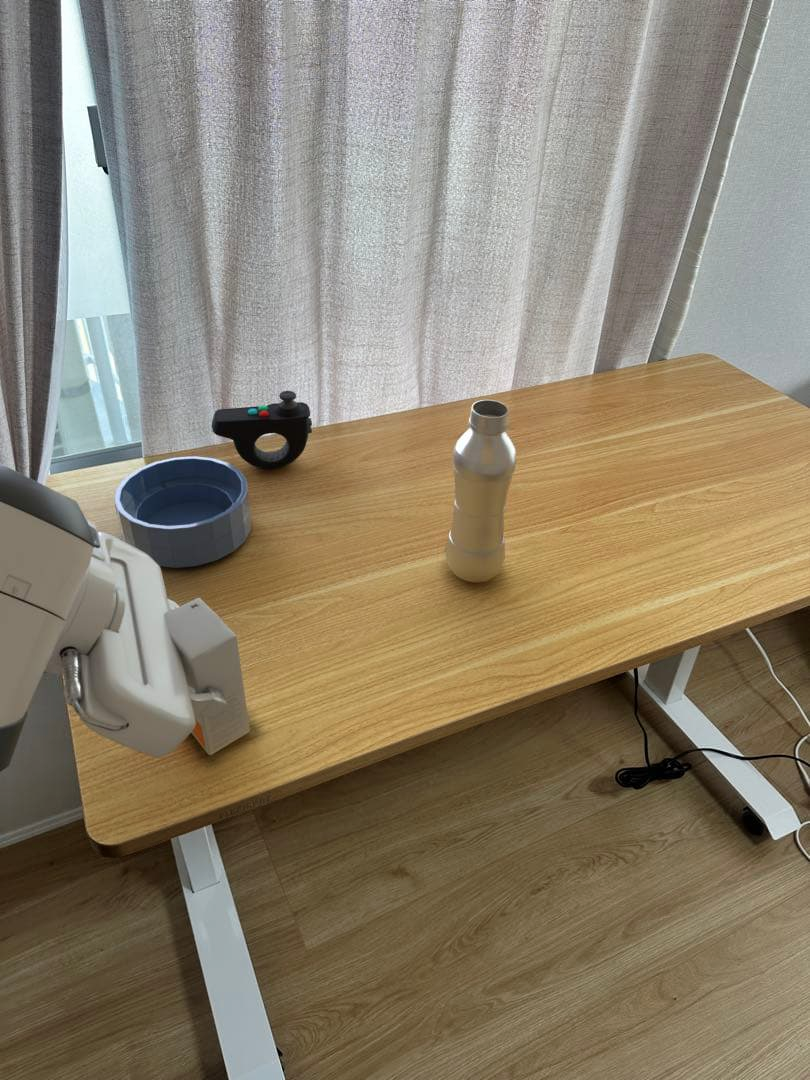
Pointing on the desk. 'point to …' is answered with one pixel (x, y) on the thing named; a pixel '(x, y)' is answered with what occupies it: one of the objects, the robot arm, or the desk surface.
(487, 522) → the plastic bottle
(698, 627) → the desk surface
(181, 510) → the bowl
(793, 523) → the desk surface
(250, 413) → the controller
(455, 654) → the desk surface
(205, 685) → the cosmetic box
